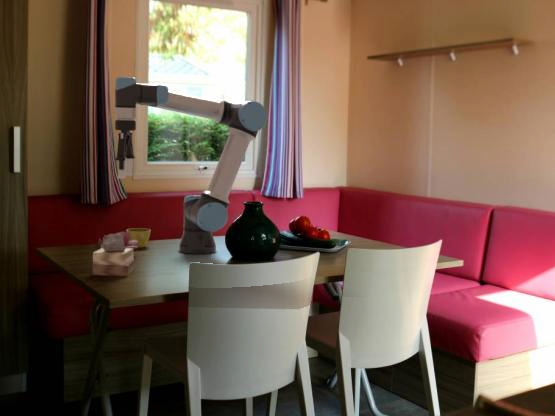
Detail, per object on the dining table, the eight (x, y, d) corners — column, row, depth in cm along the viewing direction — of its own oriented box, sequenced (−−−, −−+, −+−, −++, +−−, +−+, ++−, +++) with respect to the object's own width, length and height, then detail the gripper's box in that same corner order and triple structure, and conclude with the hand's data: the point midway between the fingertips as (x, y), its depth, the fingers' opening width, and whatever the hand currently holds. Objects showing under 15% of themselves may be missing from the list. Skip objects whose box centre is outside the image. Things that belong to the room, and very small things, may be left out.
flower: (145, 251, 280) (140, 226, 280) (108, 258, 272) (103, 233, 273) (133, 255, 293) (128, 231, 293) (98, 263, 285) (92, 238, 286)
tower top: (133, 259, 259) (133, 248, 259) (124, 265, 248) (124, 253, 248) (103, 258, 260) (103, 247, 260) (92, 264, 249) (92, 252, 249)
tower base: (134, 270, 261) (134, 259, 260) (127, 277, 249) (127, 265, 248) (101, 269, 261) (101, 258, 260) (92, 276, 249) (92, 264, 248)
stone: (100, 252, 249) (100, 235, 248) (105, 248, 259) (105, 231, 258) (124, 252, 250) (124, 235, 249) (128, 248, 259) (128, 232, 259)
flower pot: (130, 244, 312) (131, 227, 311) (153, 245, 310) (153, 228, 309) (122, 248, 302) (122, 230, 301) (146, 249, 300) (146, 232, 300)
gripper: (121, 119, 280) (121, 174, 283) (108, 119, 255) (108, 179, 258) (141, 120, 280) (141, 174, 283) (129, 119, 256) (129, 180, 258)
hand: (125, 177), depth 270 cm, fingers open, 13 cm apart
